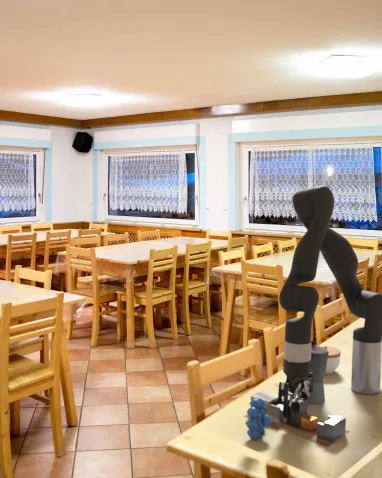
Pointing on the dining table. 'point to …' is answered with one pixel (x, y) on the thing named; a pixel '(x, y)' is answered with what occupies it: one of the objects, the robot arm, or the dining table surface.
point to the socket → (332, 428)
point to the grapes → (257, 418)
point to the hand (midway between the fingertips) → (295, 413)
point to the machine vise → (275, 416)
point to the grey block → (299, 415)
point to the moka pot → (317, 374)
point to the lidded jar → (332, 359)
